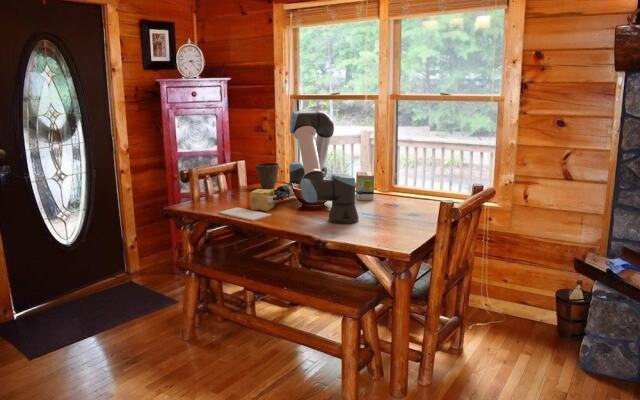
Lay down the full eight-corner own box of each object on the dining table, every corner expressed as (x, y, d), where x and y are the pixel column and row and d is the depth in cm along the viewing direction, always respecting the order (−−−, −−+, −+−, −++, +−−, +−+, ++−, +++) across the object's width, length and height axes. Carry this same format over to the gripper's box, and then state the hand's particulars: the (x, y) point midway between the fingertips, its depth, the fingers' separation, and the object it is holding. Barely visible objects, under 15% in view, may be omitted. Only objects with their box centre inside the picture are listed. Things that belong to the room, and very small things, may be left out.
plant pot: (251, 189, 338) (250, 164, 334) (268, 185, 349) (267, 161, 346) (267, 192, 329) (266, 167, 325) (284, 188, 340) (283, 164, 336)
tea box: (374, 200, 305) (374, 175, 301) (357, 200, 305) (357, 175, 301) (372, 194, 319) (372, 170, 316) (355, 194, 319) (355, 171, 316)
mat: (271, 215, 271) (271, 214, 271) (253, 221, 261) (253, 219, 261) (237, 208, 287) (237, 207, 286) (219, 213, 277) (219, 212, 276)
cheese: (267, 211, 280) (266, 193, 277) (249, 209, 283) (248, 191, 281) (275, 206, 289) (274, 189, 287) (257, 205, 293) (257, 188, 290)
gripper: (301, 200, 293) (276, 208, 277) (269, 195, 308) (243, 201, 292) (301, 187, 291) (275, 194, 275) (269, 182, 306) (242, 188, 290)
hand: (259, 198), depth 283 cm, fingers closed on cheese, 13 cm apart
